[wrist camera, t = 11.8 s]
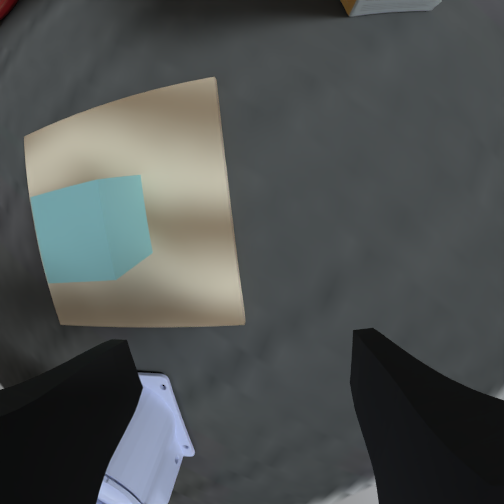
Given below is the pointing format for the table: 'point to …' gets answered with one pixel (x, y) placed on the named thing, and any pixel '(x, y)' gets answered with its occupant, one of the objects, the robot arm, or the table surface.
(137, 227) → the teal cube
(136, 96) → the birch board
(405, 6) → the small box
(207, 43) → the table surface
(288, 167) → the table surface
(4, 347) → the table surface
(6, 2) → the liquor
